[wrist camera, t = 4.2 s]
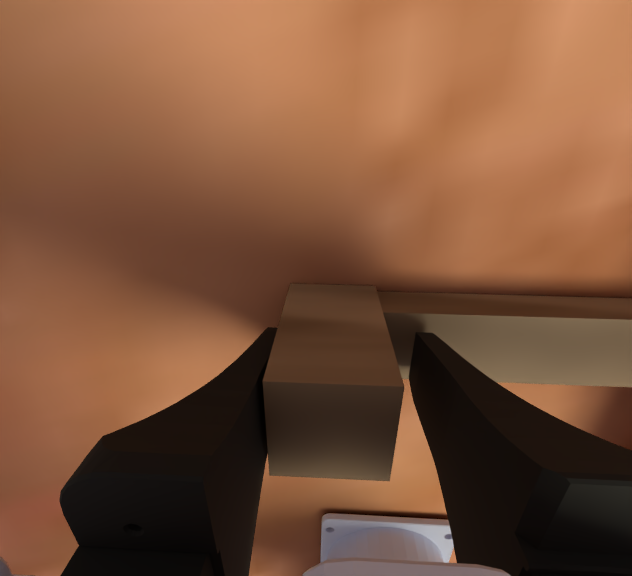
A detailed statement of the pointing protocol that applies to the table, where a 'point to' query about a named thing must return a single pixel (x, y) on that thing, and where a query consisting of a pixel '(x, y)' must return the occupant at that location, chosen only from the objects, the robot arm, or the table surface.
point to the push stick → (395, 359)
